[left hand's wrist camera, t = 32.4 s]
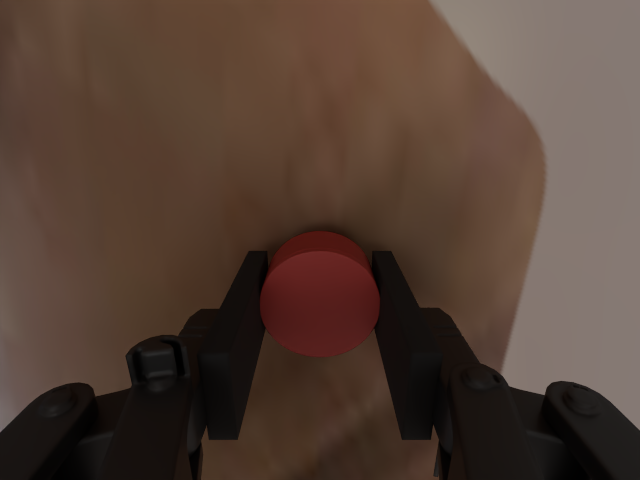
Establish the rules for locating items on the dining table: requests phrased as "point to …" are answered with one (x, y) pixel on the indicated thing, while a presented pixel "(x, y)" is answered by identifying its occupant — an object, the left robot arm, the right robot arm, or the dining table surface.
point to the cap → (319, 295)
